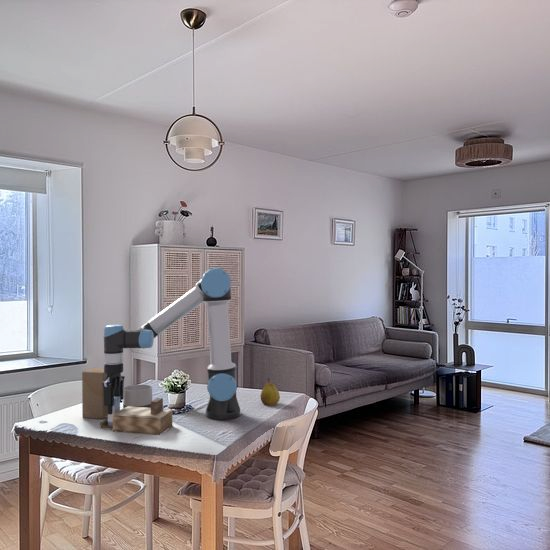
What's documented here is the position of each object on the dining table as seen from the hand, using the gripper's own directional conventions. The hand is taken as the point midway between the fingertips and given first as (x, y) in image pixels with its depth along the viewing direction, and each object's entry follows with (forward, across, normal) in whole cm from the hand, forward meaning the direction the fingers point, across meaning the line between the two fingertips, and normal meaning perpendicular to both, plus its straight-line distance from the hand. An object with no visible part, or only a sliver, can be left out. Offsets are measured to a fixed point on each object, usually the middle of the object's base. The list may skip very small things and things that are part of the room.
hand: (113, 420), depth 213 cm
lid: (-4, 0, +13) cm, 13 cm away
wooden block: (+3, -13, -15) cm, 20 cm away
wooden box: (+3, 0, +13) cm, 13 cm away
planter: (+3, -24, -2) cm, 24 cm away
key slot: (+3, 0, 0) cm, 3 cm away
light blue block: (+3, 0, 0) cm, 3 cm away
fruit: (+3, -48, +54) cm, 72 cm away
